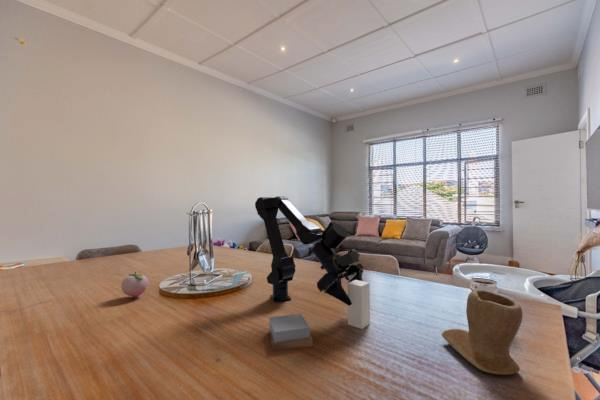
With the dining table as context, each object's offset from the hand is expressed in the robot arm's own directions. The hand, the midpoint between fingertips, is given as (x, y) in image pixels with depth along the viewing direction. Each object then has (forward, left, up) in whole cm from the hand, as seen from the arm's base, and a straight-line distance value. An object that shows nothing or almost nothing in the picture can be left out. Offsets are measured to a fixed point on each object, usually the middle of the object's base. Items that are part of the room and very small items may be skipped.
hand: (359, 300), depth 80 cm
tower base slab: (0, -21, -8) cm, 23 cm away
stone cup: (+25, +16, -7) cm, 31 cm away
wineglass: (+12, +34, -7) cm, 37 cm away
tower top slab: (0, -22, -5) cm, 22 cm away
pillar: (0, 0, -7) cm, 7 cm away
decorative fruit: (-52, -68, -7) cm, 85 cm away
